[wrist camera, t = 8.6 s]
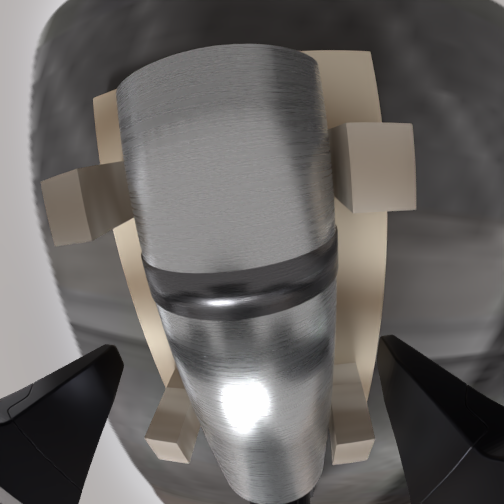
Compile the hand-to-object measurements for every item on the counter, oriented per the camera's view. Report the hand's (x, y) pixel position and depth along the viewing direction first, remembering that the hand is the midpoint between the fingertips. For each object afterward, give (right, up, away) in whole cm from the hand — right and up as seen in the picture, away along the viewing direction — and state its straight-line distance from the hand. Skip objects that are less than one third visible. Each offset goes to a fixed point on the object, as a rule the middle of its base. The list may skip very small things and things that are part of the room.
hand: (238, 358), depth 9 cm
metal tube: (0, +1, +3) cm, 3 cm away
